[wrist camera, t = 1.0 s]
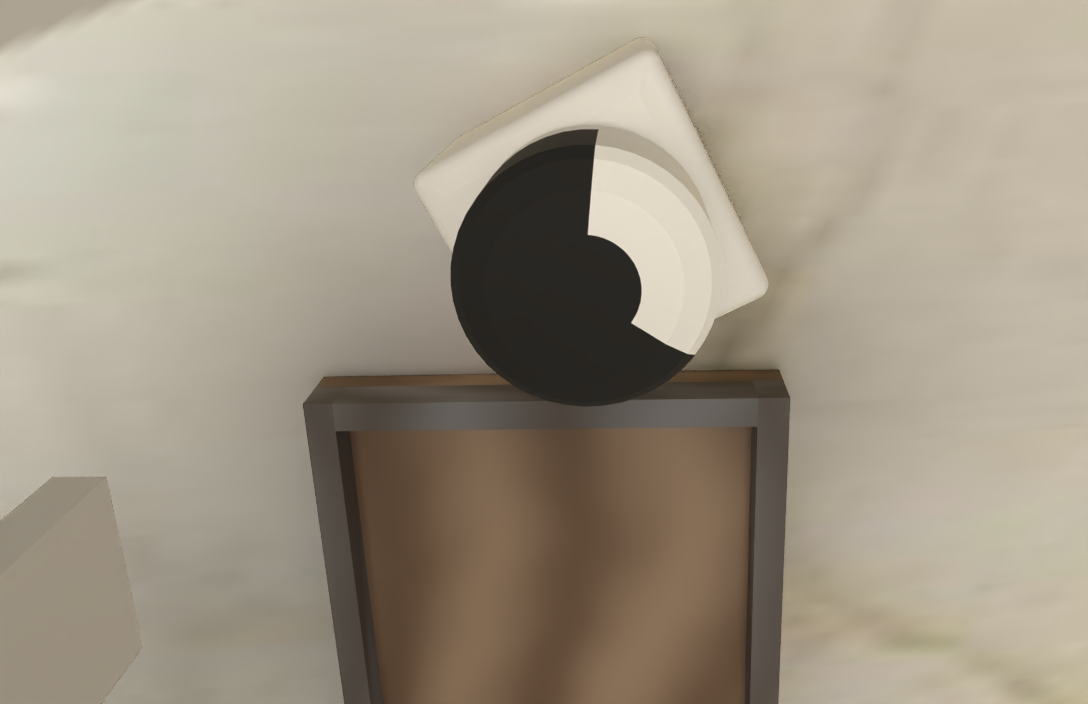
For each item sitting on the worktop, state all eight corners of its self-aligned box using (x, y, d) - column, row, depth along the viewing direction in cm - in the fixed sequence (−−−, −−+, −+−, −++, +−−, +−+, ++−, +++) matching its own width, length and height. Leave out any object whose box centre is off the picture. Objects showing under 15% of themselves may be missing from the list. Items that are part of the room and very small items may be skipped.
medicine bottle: (554, 326, 35) (519, 489, 23) (451, 141, 33) (357, 222, 21) (745, 232, 33) (806, 359, 22) (647, 31, 31) (658, 57, 20)
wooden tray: (371, 739, 41) (355, 784, 39) (324, 377, 36) (302, 404, 34) (766, 745, 40) (774, 793, 38) (779, 369, 34) (789, 397, 32)
